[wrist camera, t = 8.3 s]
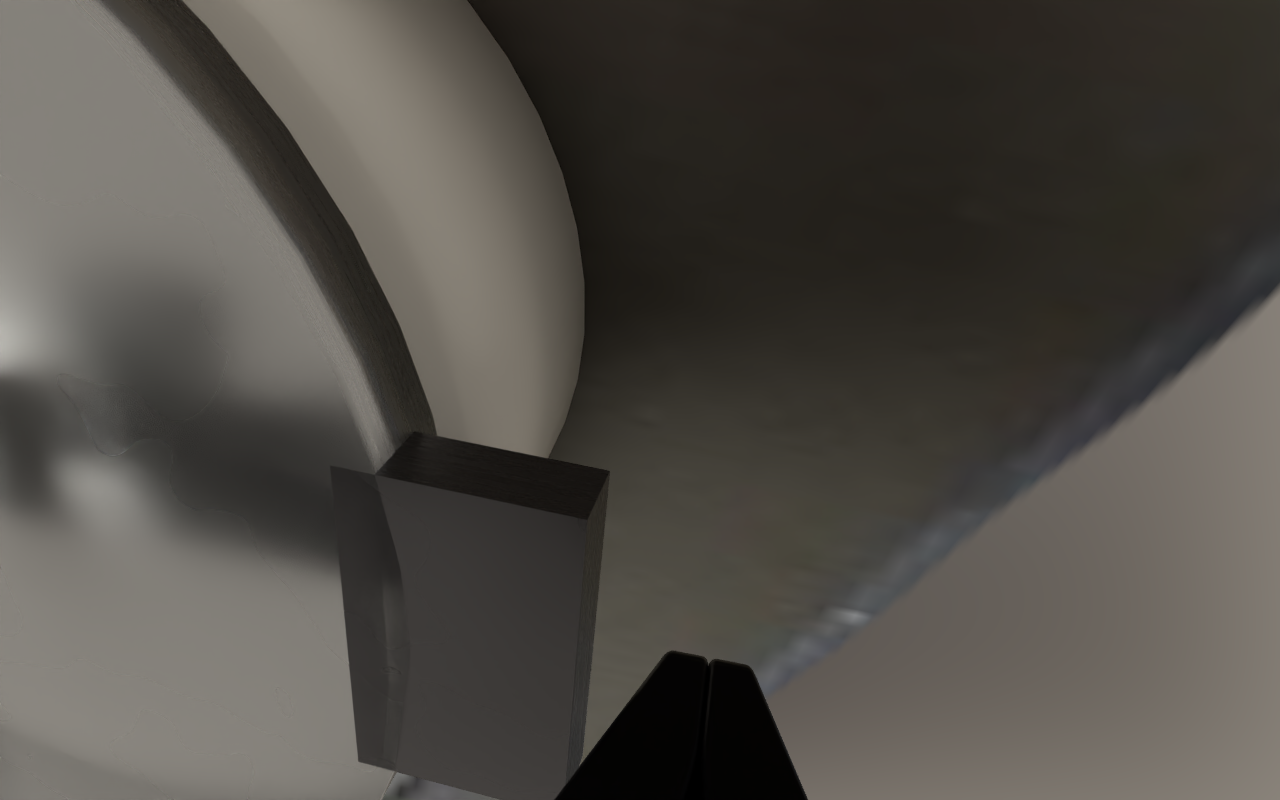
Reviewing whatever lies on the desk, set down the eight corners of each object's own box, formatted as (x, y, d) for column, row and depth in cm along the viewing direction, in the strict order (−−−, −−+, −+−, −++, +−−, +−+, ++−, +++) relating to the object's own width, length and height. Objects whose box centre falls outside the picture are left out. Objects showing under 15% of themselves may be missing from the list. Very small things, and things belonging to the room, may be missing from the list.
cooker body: (-41, 594, 22) (-303, 795, 17) (-453, -482, 12) (-1402, -815, 7) (557, 717, 20) (475, 980, 15) (637, -404, 11) (482, -757, 5)
